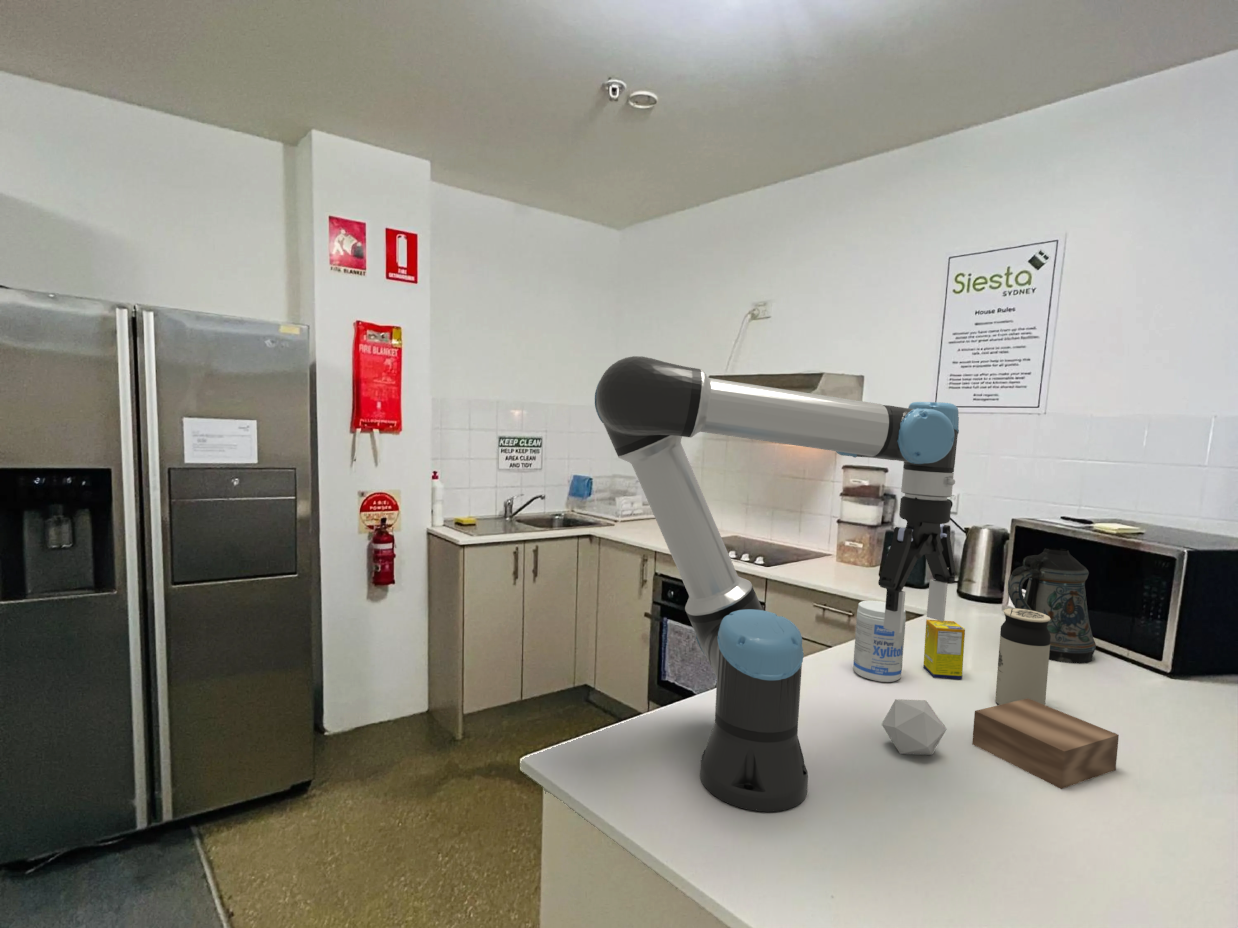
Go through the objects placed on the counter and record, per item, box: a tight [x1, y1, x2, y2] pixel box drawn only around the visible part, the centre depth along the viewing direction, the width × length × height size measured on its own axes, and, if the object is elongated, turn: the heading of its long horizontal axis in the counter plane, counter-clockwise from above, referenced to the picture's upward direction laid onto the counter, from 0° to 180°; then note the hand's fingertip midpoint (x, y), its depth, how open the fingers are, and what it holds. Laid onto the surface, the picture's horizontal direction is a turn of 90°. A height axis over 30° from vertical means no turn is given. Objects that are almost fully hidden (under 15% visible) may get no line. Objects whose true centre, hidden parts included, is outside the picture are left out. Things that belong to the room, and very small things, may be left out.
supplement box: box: [922, 619, 966, 680], centre depth 136 cm, size 6×6×11 cm
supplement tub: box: [852, 600, 907, 683], centre depth 134 cm, size 10×10×15 cm
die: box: [881, 698, 947, 756], centre depth 103 cm, size 8×9×10 cm
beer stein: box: [1007, 546, 1097, 664], centre depth 153 cm, size 16×19×25 cm
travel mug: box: [995, 607, 1051, 705], centre depth 121 cm, size 8×8×18 cm
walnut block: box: [971, 698, 1119, 790], centre depth 102 cm, size 14×14×6 cm
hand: (914, 624), depth 106 cm, fingers open, 13 cm apart
